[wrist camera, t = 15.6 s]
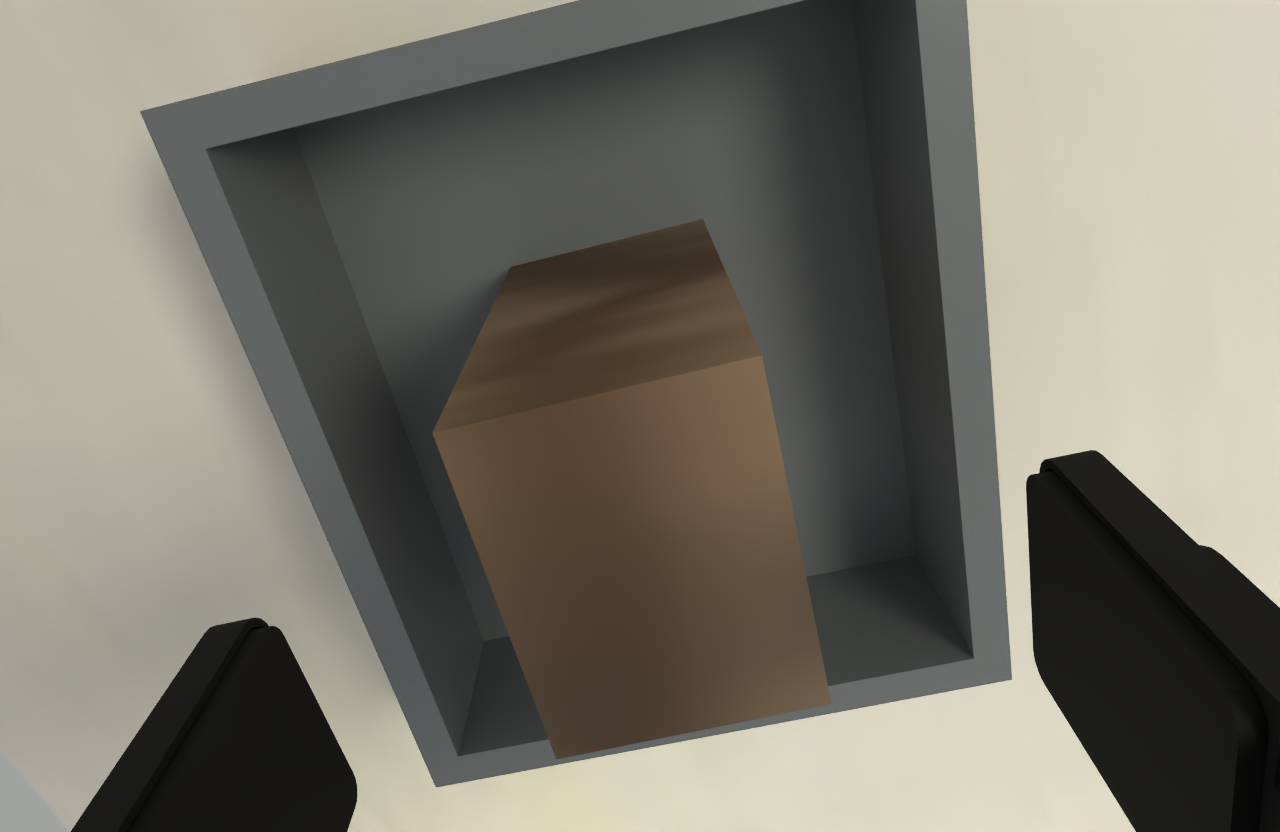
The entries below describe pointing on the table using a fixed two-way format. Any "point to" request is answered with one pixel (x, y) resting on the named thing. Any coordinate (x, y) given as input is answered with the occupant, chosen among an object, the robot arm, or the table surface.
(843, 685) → the bin
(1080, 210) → the table surface
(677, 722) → the walnut block
